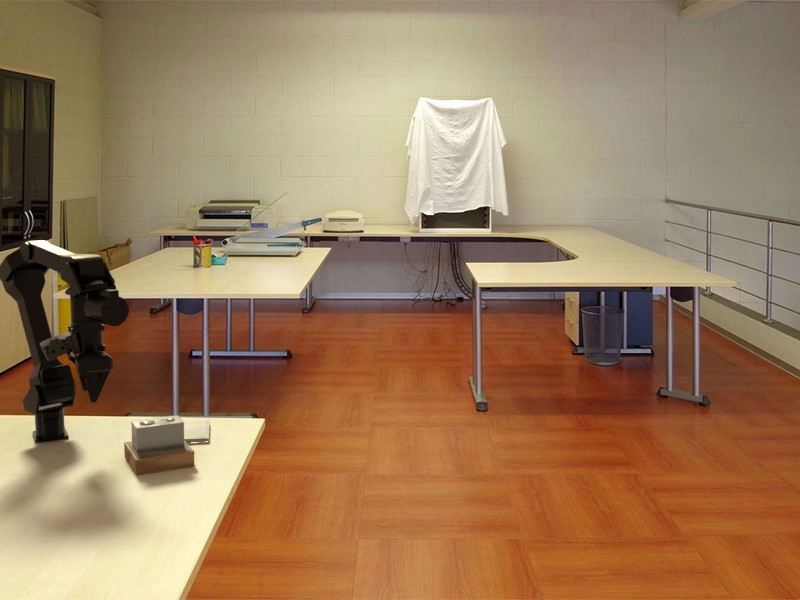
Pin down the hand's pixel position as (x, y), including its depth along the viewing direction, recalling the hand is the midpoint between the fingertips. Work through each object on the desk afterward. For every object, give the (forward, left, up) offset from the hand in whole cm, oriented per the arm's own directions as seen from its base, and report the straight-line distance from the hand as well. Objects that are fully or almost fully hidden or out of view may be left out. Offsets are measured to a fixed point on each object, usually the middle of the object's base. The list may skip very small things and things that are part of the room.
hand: (89, 396), depth 160 cm
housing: (+10, +11, -9) cm, 17 cm away
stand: (+10, +11, -12) cm, 19 cm away
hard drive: (-4, +21, -13) cm, 25 cm away
